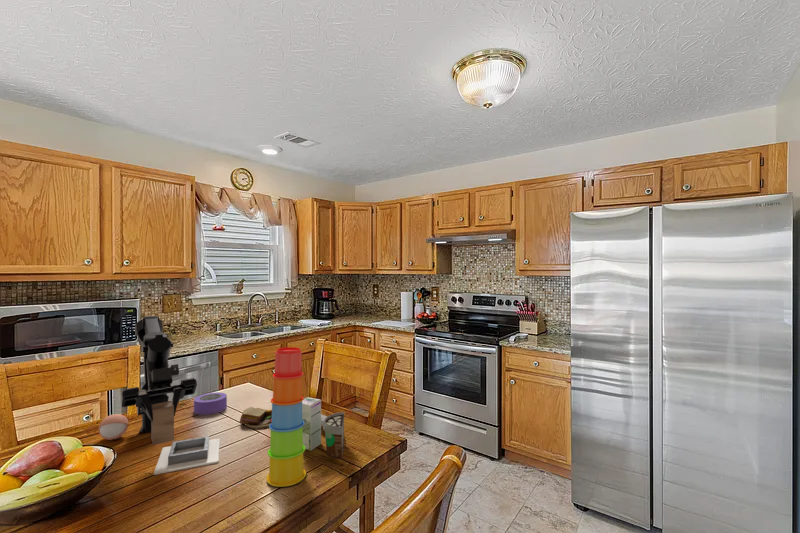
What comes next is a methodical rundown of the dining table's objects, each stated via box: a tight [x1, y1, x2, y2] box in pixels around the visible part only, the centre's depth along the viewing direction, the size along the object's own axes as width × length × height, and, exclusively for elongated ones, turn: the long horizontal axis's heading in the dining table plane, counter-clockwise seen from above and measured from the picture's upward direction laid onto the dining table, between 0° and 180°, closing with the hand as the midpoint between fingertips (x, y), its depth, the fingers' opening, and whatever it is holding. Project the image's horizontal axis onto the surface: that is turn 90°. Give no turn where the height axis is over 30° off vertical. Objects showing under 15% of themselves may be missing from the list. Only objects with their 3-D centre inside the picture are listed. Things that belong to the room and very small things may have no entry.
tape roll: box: [193, 392, 228, 416], centre depth 152 cm, size 12×12×5 cm
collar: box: [168, 435, 210, 465], centre depth 115 cm, size 10×10×2 cm
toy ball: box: [98, 413, 130, 441], centre depth 126 cm, size 8×8×8 cm
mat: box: [153, 438, 221, 476], centre depth 115 cm, size 16×16×1 cm
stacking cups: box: [266, 346, 307, 488], centre depth 103 cm, size 10×10×35 cm
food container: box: [322, 411, 345, 460], centre depth 117 cm, size 12×6×10 cm, turn 5°
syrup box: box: [302, 396, 322, 452], centre depth 121 cm, size 6×6×14 cm
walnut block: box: [150, 400, 175, 446], centre depth 110 cm, size 5×5×10 cm
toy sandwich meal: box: [239, 406, 272, 429], centre depth 140 cm, size 12×14×5 cm
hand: (163, 418), depth 109 cm, fingers closed on walnut block, 5 cm apart
